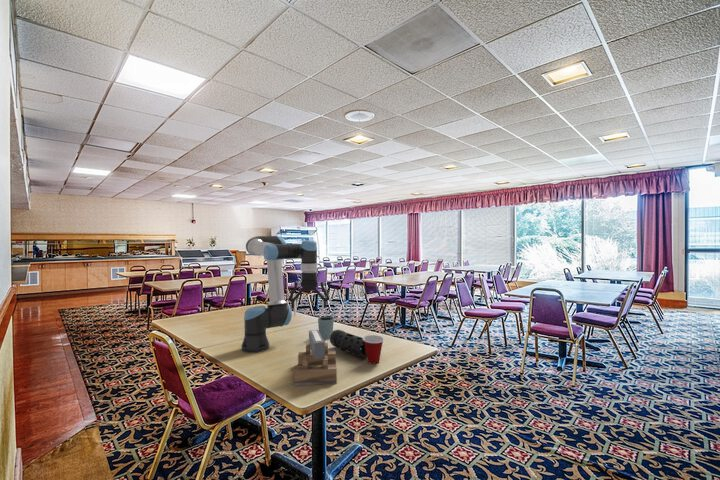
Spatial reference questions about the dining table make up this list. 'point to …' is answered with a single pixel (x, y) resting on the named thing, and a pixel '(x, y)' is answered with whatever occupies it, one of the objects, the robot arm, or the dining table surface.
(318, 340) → the gray rectangular block
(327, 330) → the grey green pot
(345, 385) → the dining table surface
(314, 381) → the rack
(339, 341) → the black perforated cylinder
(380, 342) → the plastic cup
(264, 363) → the dining table surface
